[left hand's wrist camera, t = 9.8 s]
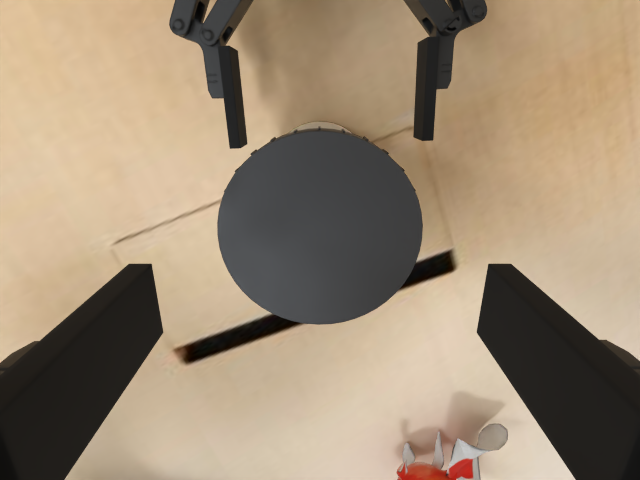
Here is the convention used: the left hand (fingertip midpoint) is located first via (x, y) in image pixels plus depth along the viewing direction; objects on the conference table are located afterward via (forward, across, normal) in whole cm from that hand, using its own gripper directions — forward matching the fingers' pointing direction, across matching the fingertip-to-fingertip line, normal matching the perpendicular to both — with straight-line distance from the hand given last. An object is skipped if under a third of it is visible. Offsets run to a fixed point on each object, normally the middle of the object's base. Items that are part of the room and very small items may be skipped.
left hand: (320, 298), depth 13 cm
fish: (+24, +15, -33) cm, 43 cm away
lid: (+7, 0, 0) cm, 7 cm away
